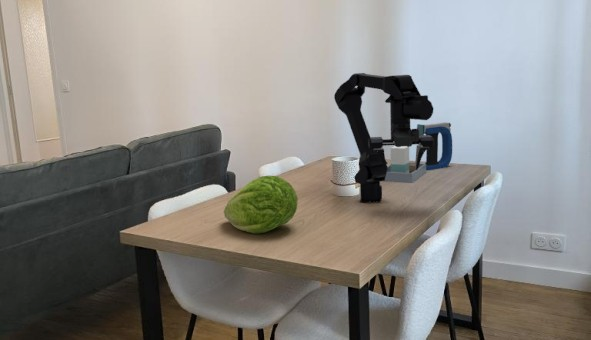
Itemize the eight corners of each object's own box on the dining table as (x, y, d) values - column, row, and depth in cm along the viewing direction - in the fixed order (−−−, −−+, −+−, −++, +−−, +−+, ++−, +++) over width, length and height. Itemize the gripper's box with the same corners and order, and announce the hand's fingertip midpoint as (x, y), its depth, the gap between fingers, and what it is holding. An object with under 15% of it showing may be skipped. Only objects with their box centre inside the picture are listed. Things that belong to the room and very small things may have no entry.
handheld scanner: (415, 170, 209) (415, 124, 205) (445, 166, 215) (446, 120, 211) (422, 172, 205) (422, 125, 201) (452, 167, 211) (453, 121, 207)
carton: (405, 180, 190) (404, 148, 188) (390, 179, 193) (390, 148, 190) (409, 177, 195) (409, 146, 193) (395, 176, 198) (394, 145, 195)
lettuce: (213, 243, 143) (252, 232, 155) (276, 230, 127) (314, 219, 139) (201, 192, 144) (241, 185, 156) (263, 172, 128) (302, 167, 141)
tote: (412, 184, 185) (412, 173, 184) (378, 182, 191) (378, 171, 191) (426, 173, 202) (426, 163, 202) (394, 171, 209) (394, 162, 208)
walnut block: (414, 175, 197) (414, 165, 196) (394, 174, 201) (394, 164, 200) (419, 172, 202) (418, 162, 201) (399, 171, 206) (399, 161, 205)
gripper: (370, 122, 142) (371, 177, 145) (438, 119, 140) (437, 175, 143) (367, 118, 153) (368, 169, 156) (430, 116, 151) (430, 167, 154)
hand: (400, 170), depth 152 cm, fingers open, 9 cm apart
